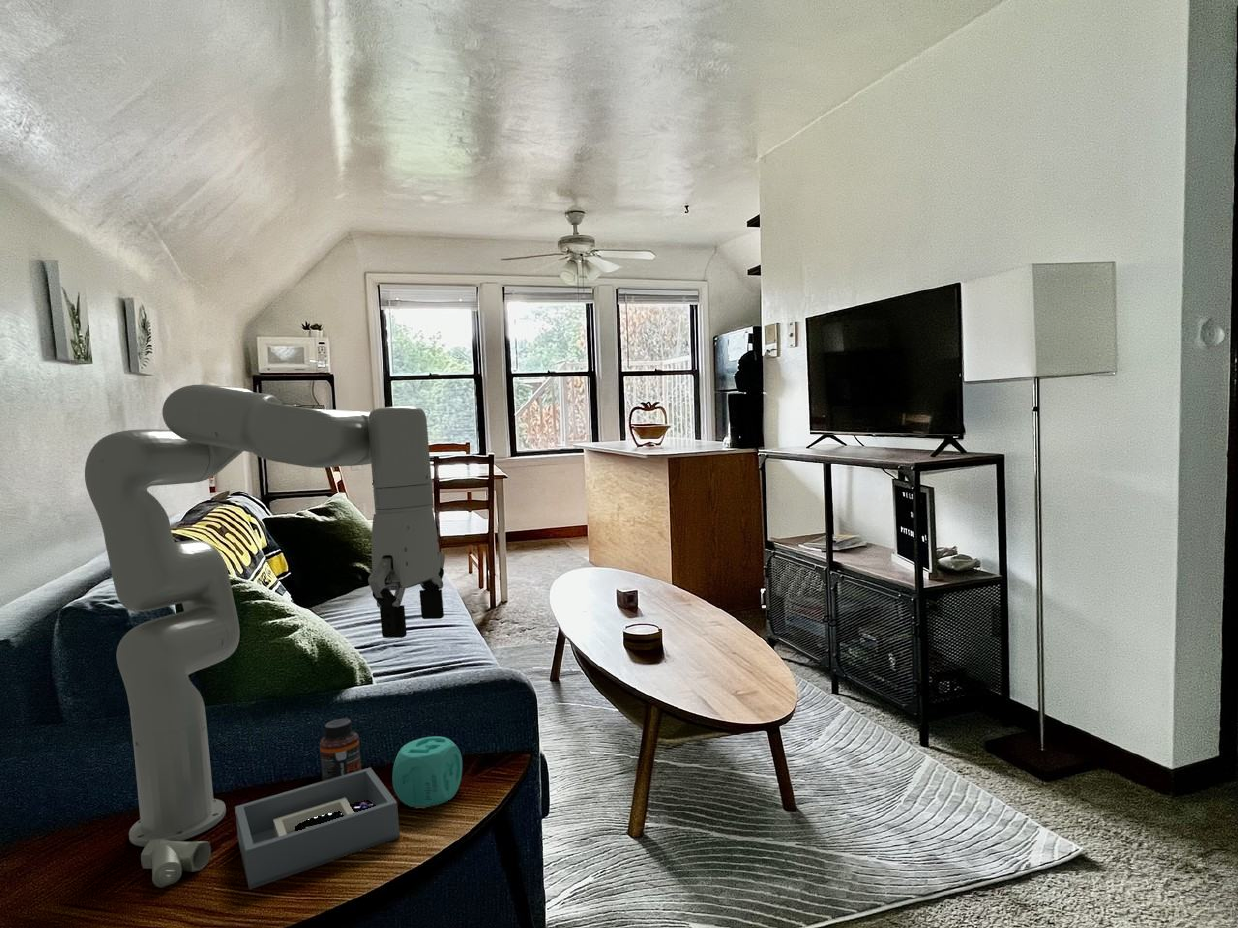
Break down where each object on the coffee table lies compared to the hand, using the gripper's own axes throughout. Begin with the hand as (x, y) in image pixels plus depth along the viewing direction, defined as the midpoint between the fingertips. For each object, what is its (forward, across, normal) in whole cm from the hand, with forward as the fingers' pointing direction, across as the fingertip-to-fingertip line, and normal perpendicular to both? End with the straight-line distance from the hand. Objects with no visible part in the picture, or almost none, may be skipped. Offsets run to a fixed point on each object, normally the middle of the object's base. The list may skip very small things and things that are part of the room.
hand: (414, 627), depth 99 cm
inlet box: (+30, -1, -18) cm, 35 cm away
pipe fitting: (+31, +10, -34) cm, 47 cm away
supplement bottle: (+30, -14, -24) cm, 41 cm away
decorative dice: (+31, -14, -8) cm, 35 cm away
